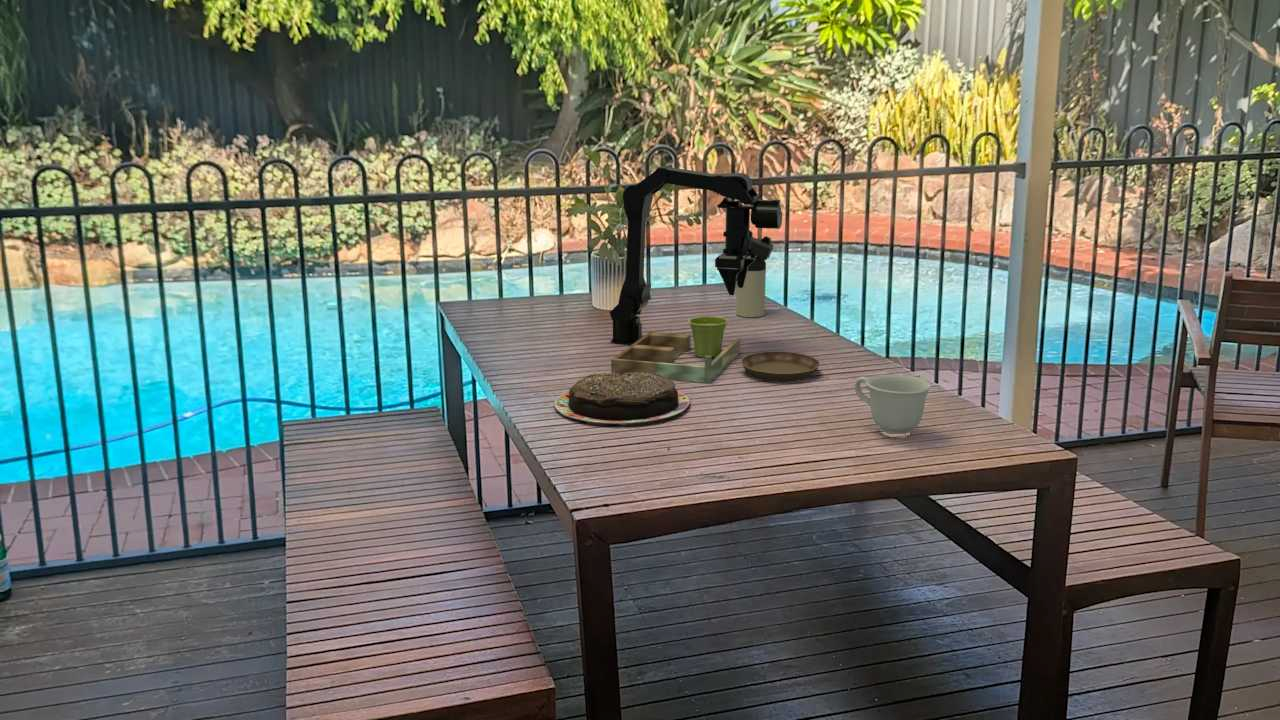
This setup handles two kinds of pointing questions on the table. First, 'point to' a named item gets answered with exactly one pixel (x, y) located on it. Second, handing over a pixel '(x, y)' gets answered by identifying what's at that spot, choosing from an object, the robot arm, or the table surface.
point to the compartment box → (670, 358)
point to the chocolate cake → (622, 399)
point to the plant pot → (707, 335)
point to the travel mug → (752, 291)
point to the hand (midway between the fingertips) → (736, 291)
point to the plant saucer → (780, 366)
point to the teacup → (895, 401)
